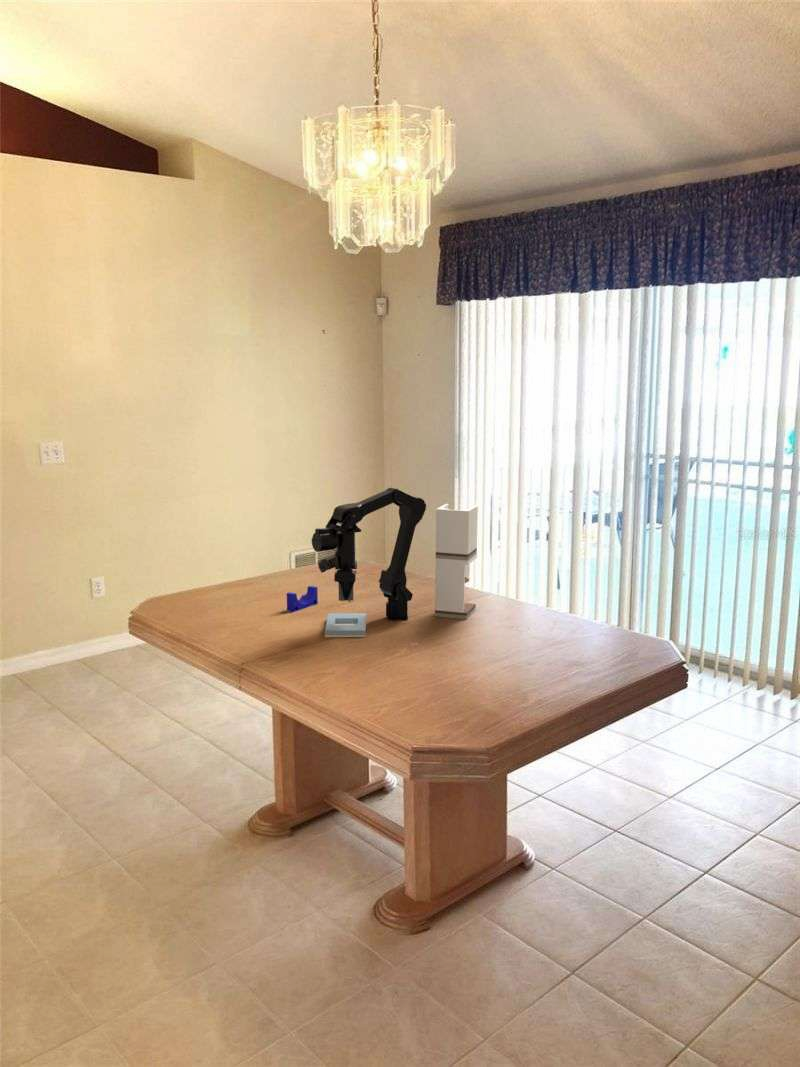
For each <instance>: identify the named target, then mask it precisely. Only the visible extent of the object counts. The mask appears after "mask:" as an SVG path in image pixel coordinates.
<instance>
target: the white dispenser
mask: <svg viewBox="0 0 800 1067" xmlns="http://www.w3.org/2000/svg"><path fill="white" fill-rule="evenodd" d="M449 505H450V504H449V503H445V504H443V505H441V506H440V507H437V508H436V511H435V570H434V571H435V572H434V573H435V576H434V577H435V578H434V579H435V580H434V582H435V583H434V585H435V586H434V616H435V617H439V618H448V619H449V618H451V619H461V620H468V619H469V618H470V617H471V615H472V614H473V613H475V612H476V609H477V608H476V603H468V602H465V594H466V593H465V590H466V589H465V588H466V587H465V585H466V584H467V583H468V582H470V574H471V573H470V571H471V570H470V569H471V568H470V567H471V566H470V565H471V563H472V562H473V561H474V560H475V559H476V558H478V555H477V554H478V514H479V513H478V512H479V510H478V506H479V505H477V504H475V505H473V506H472V507H470V508H467V509H450V508H449ZM469 616H470V617H469Z"/></svg>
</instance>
